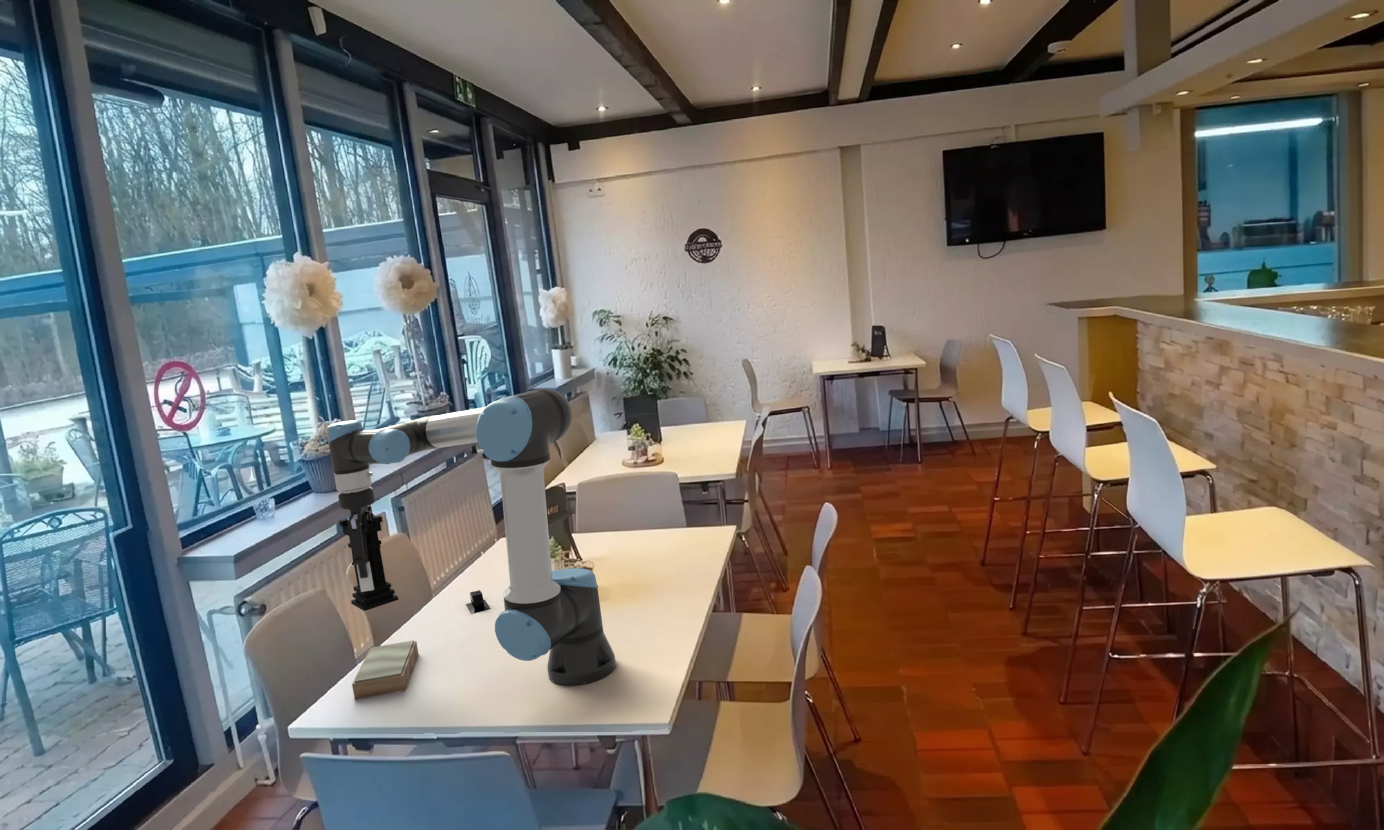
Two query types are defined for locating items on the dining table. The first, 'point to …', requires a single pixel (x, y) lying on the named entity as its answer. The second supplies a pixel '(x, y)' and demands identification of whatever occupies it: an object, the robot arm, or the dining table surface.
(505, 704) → the dining table surface
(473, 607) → the black blocky piece
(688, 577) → the dining table surface
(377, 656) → the walnut stand
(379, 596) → the chess piece
